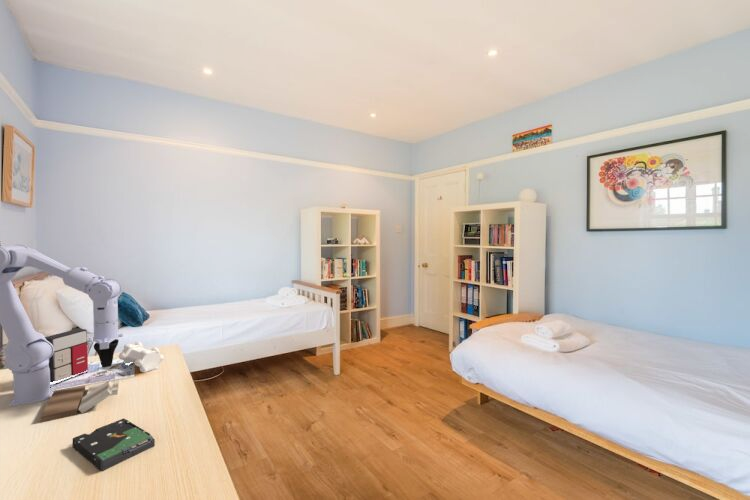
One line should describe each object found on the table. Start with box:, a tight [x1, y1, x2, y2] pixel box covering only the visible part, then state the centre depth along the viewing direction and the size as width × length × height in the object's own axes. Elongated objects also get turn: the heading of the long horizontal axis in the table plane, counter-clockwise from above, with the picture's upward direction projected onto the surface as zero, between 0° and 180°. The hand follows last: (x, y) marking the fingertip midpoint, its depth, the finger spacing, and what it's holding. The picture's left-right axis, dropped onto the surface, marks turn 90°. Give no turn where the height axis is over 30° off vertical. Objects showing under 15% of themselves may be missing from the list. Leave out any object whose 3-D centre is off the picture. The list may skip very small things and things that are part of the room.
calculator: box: [44, 328, 89, 382], centre depth 112 cm, size 11×4×15 cm, turn 168°
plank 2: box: [78, 380, 113, 414], centre depth 95 cm, size 8×7×2 cm
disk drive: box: [72, 418, 156, 472], centre depth 77 cm, size 10×3×15 cm
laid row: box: [39, 385, 86, 424], centre depth 95 cm, size 17×7×2 cm, turn 34°
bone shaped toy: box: [118, 341, 165, 374], centre depth 123 cm, size 15×9×8 cm, turn 59°
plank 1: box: [86, 379, 120, 397], centre depth 103 cm, size 8×7×2 cm
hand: (106, 366), depth 103 cm, fingers closed
